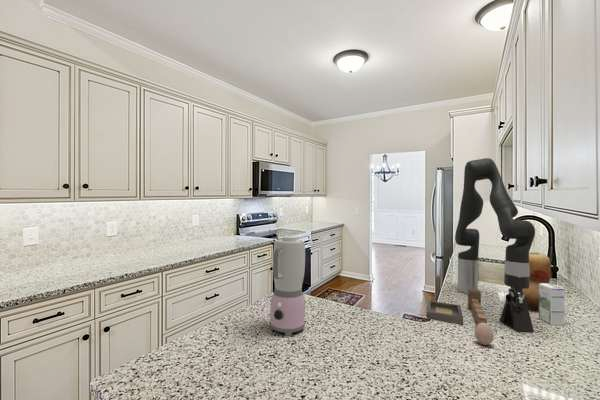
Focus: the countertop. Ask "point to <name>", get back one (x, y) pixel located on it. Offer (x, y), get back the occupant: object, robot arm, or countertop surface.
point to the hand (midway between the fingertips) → (516, 319)
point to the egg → (483, 333)
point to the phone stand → (516, 316)
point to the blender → (288, 286)
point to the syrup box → (552, 304)
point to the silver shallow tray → (444, 312)
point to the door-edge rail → (476, 306)
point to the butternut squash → (537, 277)
